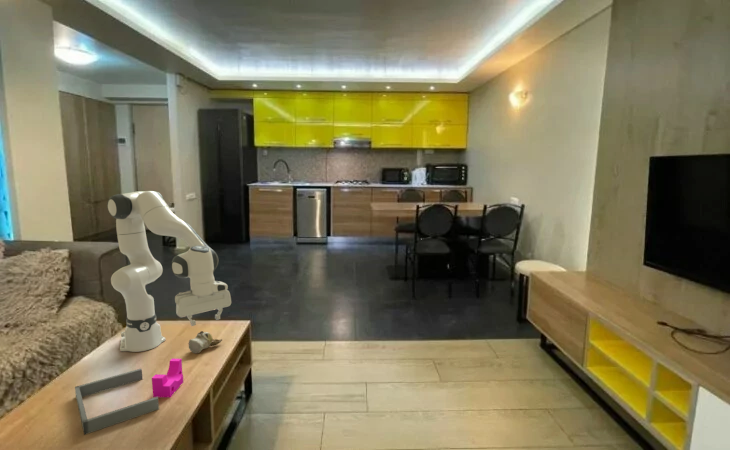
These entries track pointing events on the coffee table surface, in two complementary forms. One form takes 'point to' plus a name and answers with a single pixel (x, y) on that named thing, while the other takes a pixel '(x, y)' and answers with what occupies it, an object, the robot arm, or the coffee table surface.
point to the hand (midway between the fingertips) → (205, 322)
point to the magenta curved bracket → (168, 380)
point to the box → (116, 415)
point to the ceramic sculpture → (202, 342)
